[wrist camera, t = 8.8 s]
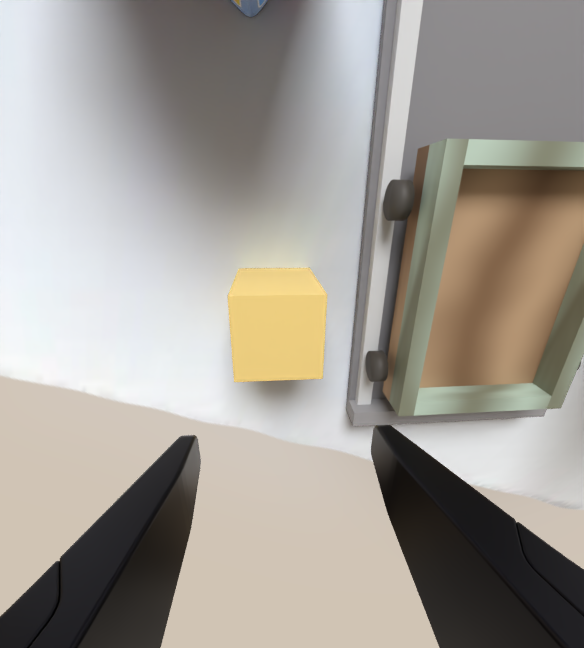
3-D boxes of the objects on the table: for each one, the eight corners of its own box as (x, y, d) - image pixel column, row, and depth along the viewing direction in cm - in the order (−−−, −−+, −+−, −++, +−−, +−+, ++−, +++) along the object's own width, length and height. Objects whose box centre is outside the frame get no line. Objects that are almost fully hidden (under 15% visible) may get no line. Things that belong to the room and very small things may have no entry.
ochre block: (309, 267, 19) (327, 294, 14) (307, 331, 21) (322, 378, 15) (238, 268, 19) (227, 296, 13) (242, 333, 21) (234, 382, 15)
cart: (628, 154, 17) (699, 145, 14) (541, 381, 22) (580, 407, 20) (389, 149, 16) (416, 137, 13) (362, 389, 21) (376, 417, 19)
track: (700, -87, 14) (765, -130, 12) (523, 400, 25) (543, 416, 23) (394, -116, 13) (416, -168, 11) (346, 408, 24) (353, 426, 22)
